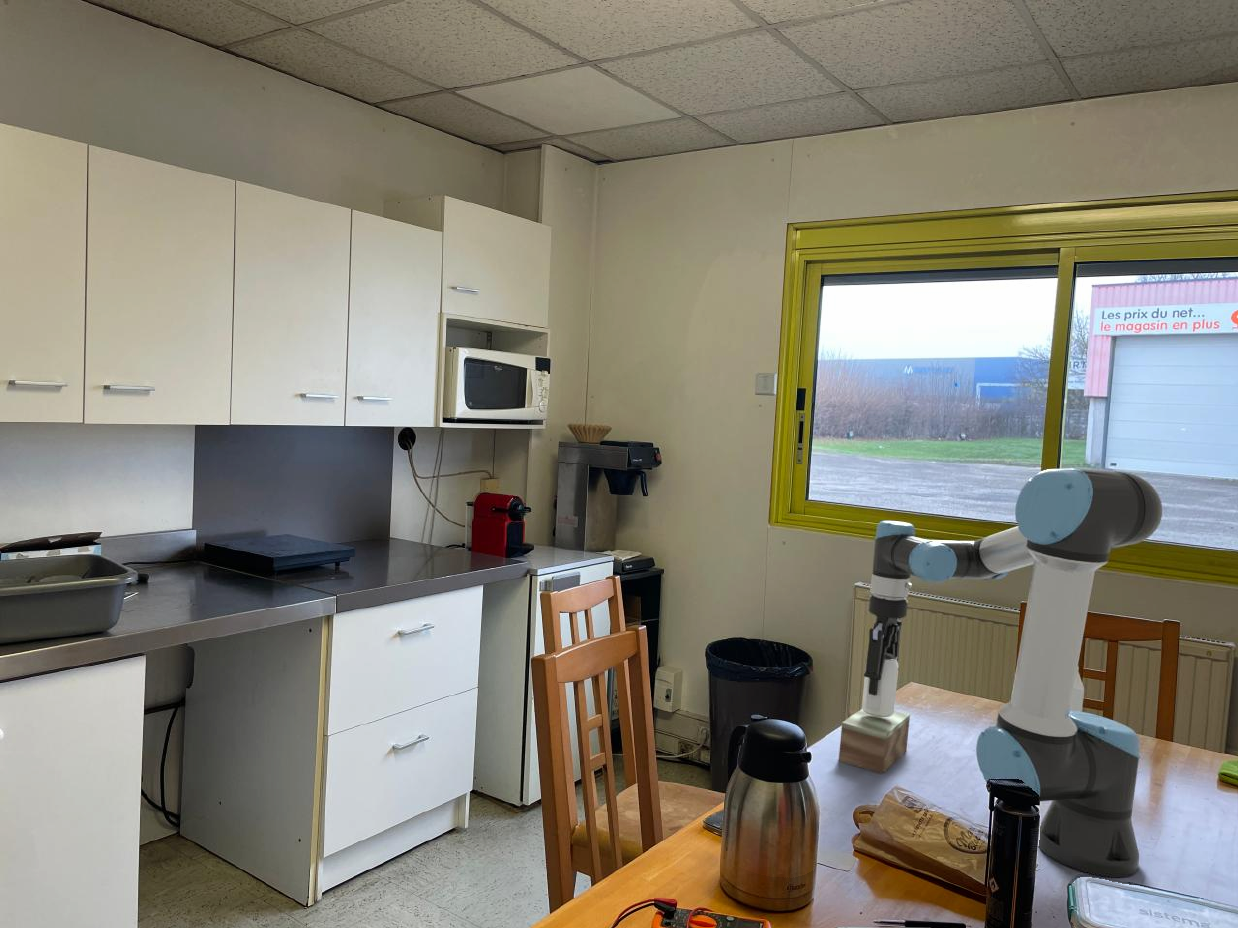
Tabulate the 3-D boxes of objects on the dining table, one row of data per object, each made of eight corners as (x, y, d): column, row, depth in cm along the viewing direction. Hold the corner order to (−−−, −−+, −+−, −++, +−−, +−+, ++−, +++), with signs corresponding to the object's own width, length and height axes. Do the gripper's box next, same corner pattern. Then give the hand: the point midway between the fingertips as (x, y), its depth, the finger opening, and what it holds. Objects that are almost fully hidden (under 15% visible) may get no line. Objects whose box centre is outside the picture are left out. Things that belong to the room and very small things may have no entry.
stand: (881, 773, 179) (885, 734, 178) (838, 760, 184) (842, 722, 183) (906, 751, 192) (910, 714, 191) (865, 739, 197) (868, 703, 196)
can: (890, 708, 190) (895, 652, 189) (896, 718, 184) (902, 661, 183) (859, 705, 191) (864, 649, 190) (864, 715, 184) (869, 658, 183)
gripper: (892, 606, 175) (880, 721, 177) (921, 593, 191) (910, 698, 193) (854, 599, 180) (844, 711, 181) (886, 586, 195) (876, 690, 197)
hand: (878, 704), depth 187 cm, fingers closed on can, 6 cm apart
